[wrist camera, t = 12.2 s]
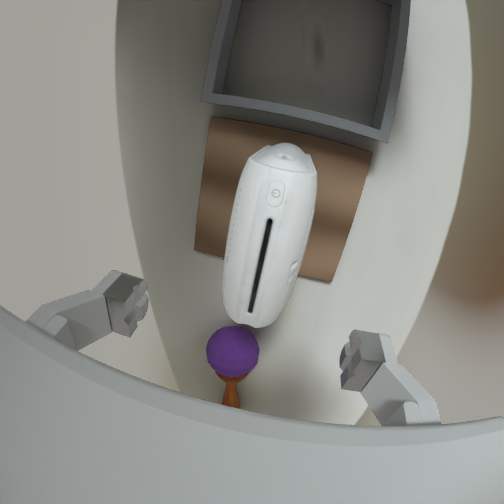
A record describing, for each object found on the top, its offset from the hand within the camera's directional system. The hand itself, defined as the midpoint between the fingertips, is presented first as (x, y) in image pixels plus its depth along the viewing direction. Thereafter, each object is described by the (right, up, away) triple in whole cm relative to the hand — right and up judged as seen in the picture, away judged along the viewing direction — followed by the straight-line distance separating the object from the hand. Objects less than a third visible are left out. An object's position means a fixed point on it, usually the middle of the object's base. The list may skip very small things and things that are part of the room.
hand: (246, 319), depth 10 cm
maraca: (-2, -14, +26) cm, 30 cm away
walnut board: (+2, +7, +15) cm, 17 cm away
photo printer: (+3, +7, +14) cm, 16 cm away
